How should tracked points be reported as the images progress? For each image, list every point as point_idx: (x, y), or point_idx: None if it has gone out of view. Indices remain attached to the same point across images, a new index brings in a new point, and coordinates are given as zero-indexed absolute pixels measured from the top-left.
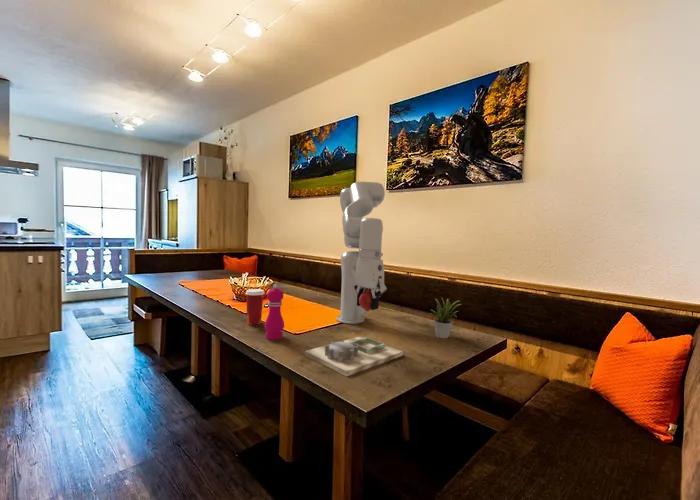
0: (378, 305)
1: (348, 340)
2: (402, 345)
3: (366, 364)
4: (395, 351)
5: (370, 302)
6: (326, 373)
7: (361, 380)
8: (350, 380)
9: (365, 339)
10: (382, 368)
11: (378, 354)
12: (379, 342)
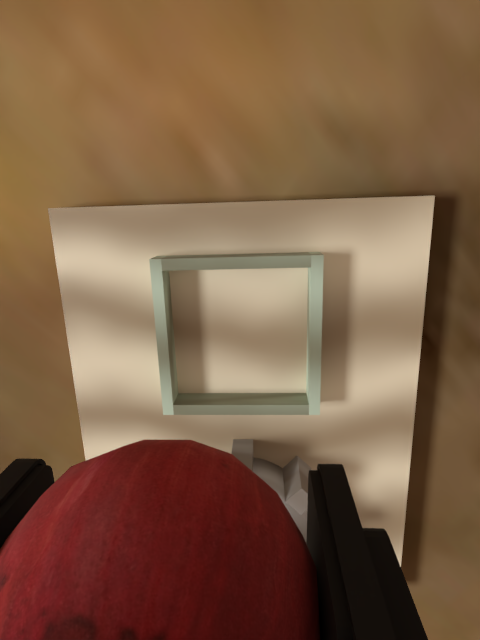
0: (388, 537)
1: (84, 338)
2: (304, 26)
3: (406, 497)
4: (402, 240)
5: None
6: None
7: (457, 564)
8: (425, 591)
9: (164, 282)
10: (447, 421)
11: (362, 361)
12: (278, 264)
